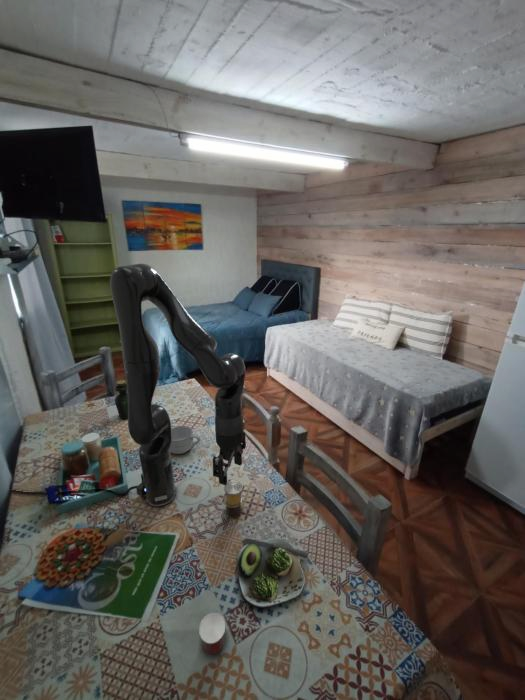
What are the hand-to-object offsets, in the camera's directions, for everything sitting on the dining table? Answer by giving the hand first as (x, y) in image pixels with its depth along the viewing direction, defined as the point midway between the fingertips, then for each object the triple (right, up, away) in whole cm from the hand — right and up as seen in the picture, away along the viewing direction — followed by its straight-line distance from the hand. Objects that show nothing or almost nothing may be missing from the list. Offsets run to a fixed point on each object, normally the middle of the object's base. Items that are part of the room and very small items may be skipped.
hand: (230, 473), depth 91 cm
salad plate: (+10, -23, -8) cm, 26 cm away
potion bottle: (-55, +4, +59) cm, 81 cm away
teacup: (-23, -5, +37) cm, 43 cm away
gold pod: (0, -11, +7) cm, 13 cm away
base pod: (0, -16, +9) cm, 18 cm away
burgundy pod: (-2, -28, -22) cm, 36 cm away
